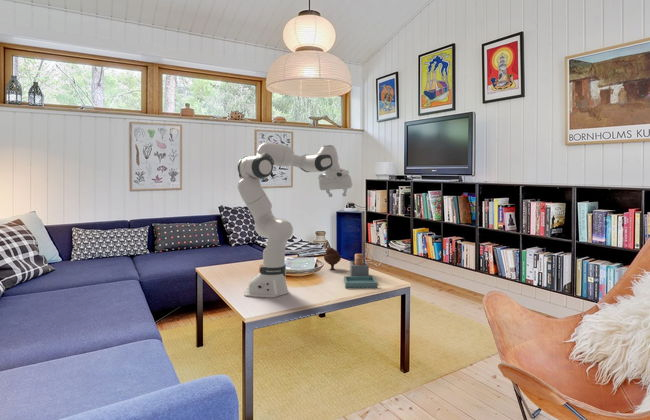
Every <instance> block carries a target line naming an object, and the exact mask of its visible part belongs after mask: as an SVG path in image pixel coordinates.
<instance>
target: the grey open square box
mask: <svg viewBox="0 0 650 420" xmlns="http://www.w3.org/2000/svg"><path fill="white" fill-rule="evenodd" d="M369 267H370V265H369V264H368V262H367V261H363V265H355V261H350V262H349V276H370V275H369V274H370V273H369V270H370V268H369Z"/></svg>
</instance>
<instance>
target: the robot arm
mask: <svg viewBox="0 0 650 420" xmlns="http://www.w3.org/2000/svg"><path fill="white" fill-rule="evenodd" d="M274 166H277V167H291V166H292V167H296V168H298V169H300V170H301V171H304V172H305V173H320V172H321V173H322V172H324V173H323V174H320V175H318V177H317V179H318V184H319V190H320V191H325V192H326V194H327V195H328V197H329V198H332V197H333V193H331V191H332V190H334V191H335V190H343V193H342V197H347V191H348V189H350V188H352V186H353V181H352V178H351V176H350V175H349V174H350V171H349V170H348V169H345V168H342V167H340V164H339V155H338V152H337V149H336V147H335V146H334V145H332V144H330V145H329V144H328V145H323V146H320V149H319V151H317V153H315V154H304V155H298V154H295V151H294V149H292V147H291V146H287V145H285V144H281V143H275V142H263V143H261V144H260V145H259V146H258V148H257V153H256V154H255V155H250V156H244V157H242V158H240V159H239V160H238V163H237V172H238V177H239V179H240V180H239V181H238V183H237V189H238V192H239V194H240V195H239V196H240V197H241V200H243V202H244V204H245V206H246V207H247V209H248V211H249V212H250V214H251V215H252V217H253V220H254V230H255V232H256V234H257V235H259V236H261V237H262V238H264V239H265V238H266V239H267V243H266V246H265V248H264V249H263V251H262V263H263V264H260V265H259V270H258V271H259V273H257V274H256V275H255V276H254V277H253V278H252V279H251V280H250V281H249V283H248V288H246V289H245V290H244V292H243V295H244V297H252V298H254V297H255V298H276V297H279V296H280V297H281V296H283V295H286V294H288V293H289V289H288V285H287V280H286V278H287V277H286V275H287V267H286V261H285V260H286V259H285V258H286V256H285V255H286V246H287V244H288V240H289V239H290V238H291V237H292V235H293V232H294V227H293V225H292V223H291V222H289V221H288V220H286V219H284V218H279V217H275V216H274V214H273V211H272V208H273V205H272V204H273V203H272V202H271V201H270V199H269V197H268V196H267V194H266V192H265V190H264V188H263V187H262V186H261V180H260V179H266V178H268V177H270V175H271V174H272V173H273V170H274ZM330 190H331V191H330Z"/></svg>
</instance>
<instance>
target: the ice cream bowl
mask: <svg viewBox="0 0 650 420" xmlns="http://www.w3.org/2000/svg"><path fill="white" fill-rule="evenodd" d="M325 254H326V255H324V256H323V259H324V261H325V262H326V263H327V264H328V265H330V268H329V271H336V268H335V265H337V264H338V263H339V262H341V259H342V256H341V255H340V252H339V251H338V250H336V249H334V248H333V247H328V248H326V250H325Z"/></svg>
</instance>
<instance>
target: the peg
mask: <svg viewBox="0 0 650 420" xmlns="http://www.w3.org/2000/svg"><path fill="white" fill-rule="evenodd" d="M354 262H355V265H363V262H364V254H363V253H355V254H354Z"/></svg>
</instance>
